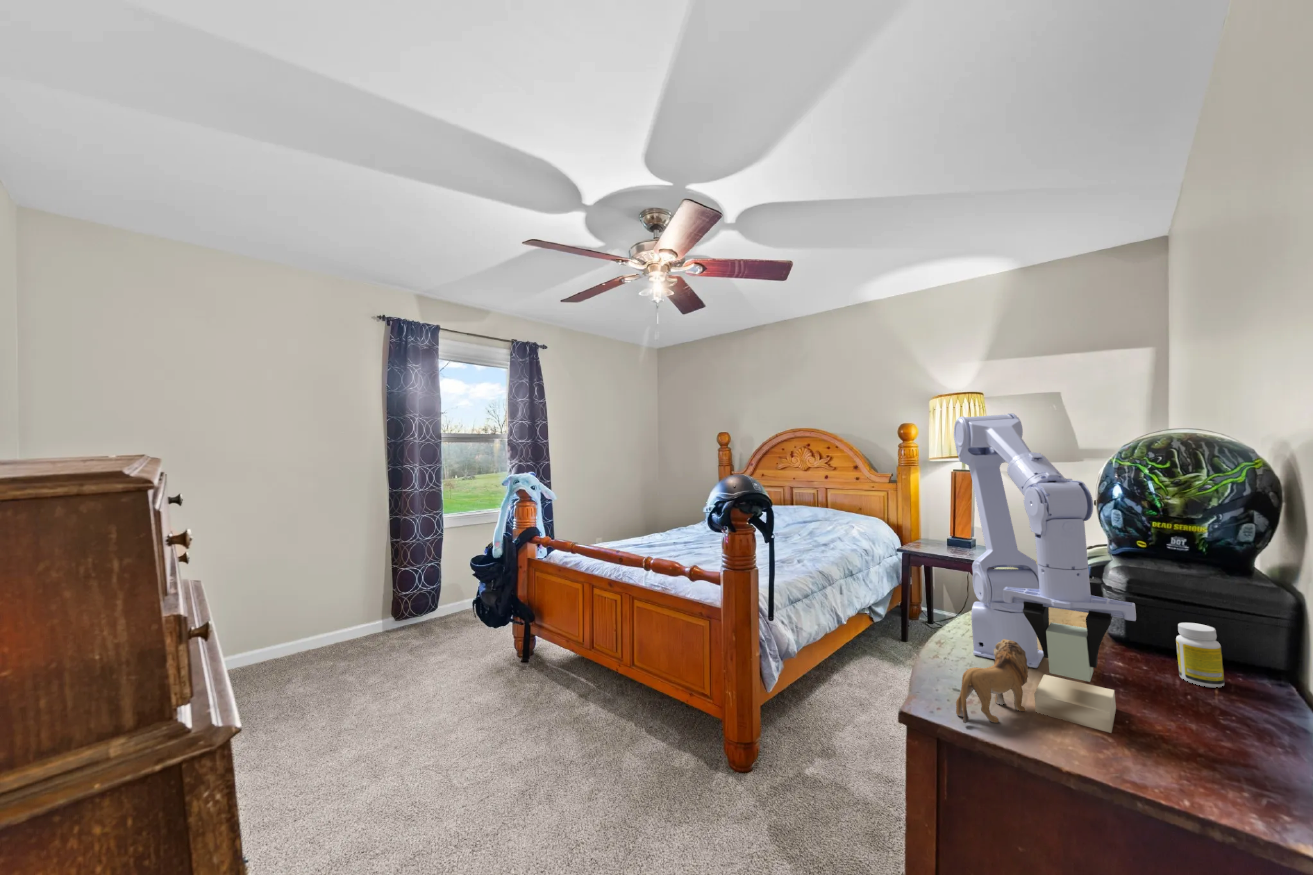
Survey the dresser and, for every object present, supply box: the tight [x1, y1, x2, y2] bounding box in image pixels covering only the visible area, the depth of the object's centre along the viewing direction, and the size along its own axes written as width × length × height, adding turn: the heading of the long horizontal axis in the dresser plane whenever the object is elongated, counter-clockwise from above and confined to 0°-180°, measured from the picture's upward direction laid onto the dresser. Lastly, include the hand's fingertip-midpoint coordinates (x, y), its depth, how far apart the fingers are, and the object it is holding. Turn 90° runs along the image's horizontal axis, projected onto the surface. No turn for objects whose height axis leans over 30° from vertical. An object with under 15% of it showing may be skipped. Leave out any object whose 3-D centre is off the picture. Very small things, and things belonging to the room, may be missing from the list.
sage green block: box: [1046, 622, 1094, 683], centre depth 71 cm, size 4×4×6 cm
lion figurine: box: [955, 639, 1029, 724], centre depth 72 cm, size 15×5×9 cm, turn 119°
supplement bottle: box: [1175, 622, 1225, 689], centre depth 77 cm, size 5×5×8 cm
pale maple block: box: [1034, 674, 1117, 734], centre depth 70 cm, size 8×8×3 cm
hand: (1070, 660), depth 71 cm, fingers closed on sage green block, 4 cm apart
